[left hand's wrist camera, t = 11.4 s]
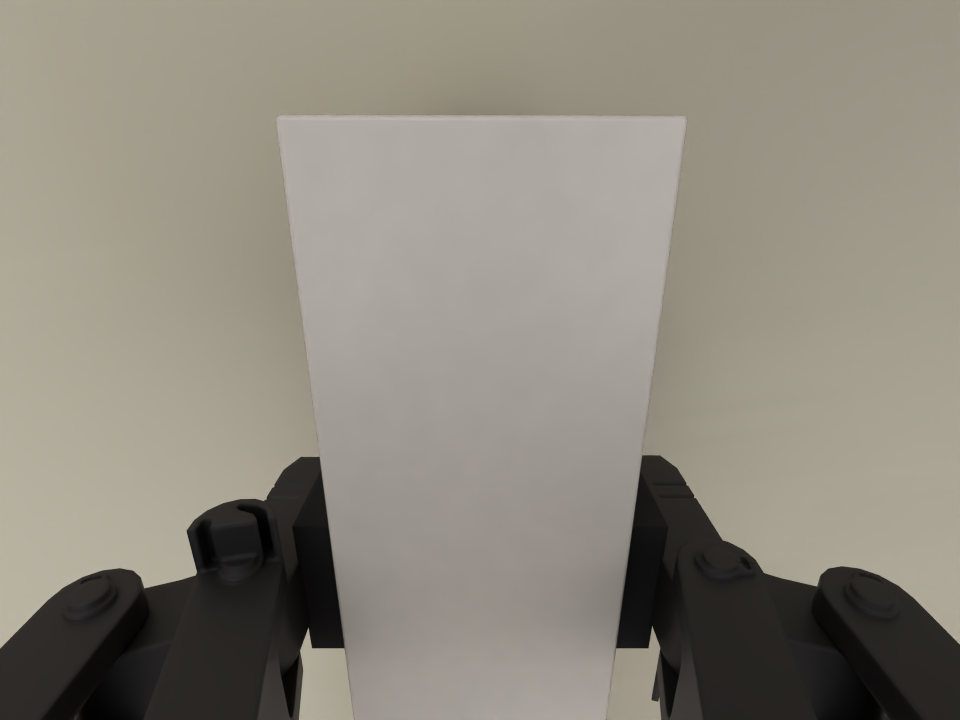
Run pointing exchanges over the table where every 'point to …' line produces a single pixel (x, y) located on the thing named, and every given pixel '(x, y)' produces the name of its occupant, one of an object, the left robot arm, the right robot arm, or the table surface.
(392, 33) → the table surface
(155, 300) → the table surface
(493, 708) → the bar
